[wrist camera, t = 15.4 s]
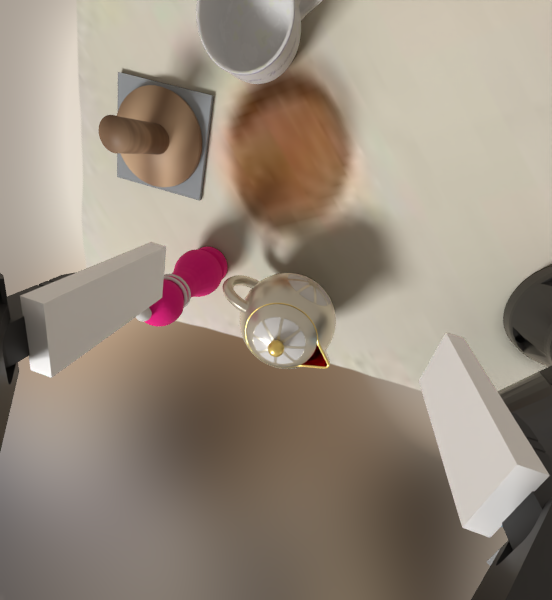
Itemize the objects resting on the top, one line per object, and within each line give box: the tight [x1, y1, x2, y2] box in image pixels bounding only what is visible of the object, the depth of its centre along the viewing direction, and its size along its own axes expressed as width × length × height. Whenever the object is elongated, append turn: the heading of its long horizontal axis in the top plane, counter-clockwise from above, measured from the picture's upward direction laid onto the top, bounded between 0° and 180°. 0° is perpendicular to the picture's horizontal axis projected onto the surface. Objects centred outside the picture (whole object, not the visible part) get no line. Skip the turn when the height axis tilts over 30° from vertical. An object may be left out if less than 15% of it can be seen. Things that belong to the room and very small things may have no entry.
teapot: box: [223, 273, 336, 369], centre depth 45 cm, size 18×14×16 cm
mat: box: [117, 72, 214, 200], centre depth 47 cm, size 14×14×1 cm
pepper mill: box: [136, 247, 227, 326], centre depth 45 cm, size 7×7×20 cm
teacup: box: [196, 0, 323, 84], centre depth 36 cm, size 14×11×8 cm
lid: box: [99, 85, 202, 187], centre depth 42 cm, size 13×13×10 cm
